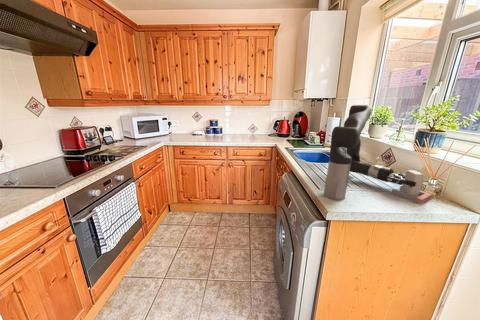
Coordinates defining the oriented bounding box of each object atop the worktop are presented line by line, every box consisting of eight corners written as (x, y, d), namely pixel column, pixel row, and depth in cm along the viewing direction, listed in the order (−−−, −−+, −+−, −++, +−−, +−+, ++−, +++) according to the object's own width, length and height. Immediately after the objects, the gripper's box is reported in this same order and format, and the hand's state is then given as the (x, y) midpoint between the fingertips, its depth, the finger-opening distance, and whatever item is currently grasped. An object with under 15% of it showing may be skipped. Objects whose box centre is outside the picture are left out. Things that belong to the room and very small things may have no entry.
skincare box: (399, 192, 101) (405, 169, 97) (409, 192, 100) (415, 170, 97) (408, 197, 95) (415, 174, 91) (418, 198, 94) (425, 174, 91)
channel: (390, 193, 99) (391, 190, 98) (401, 188, 105) (402, 185, 104) (420, 203, 89) (422, 199, 88) (431, 197, 95) (432, 194, 94)
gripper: (374, 168, 103) (414, 178, 89) (388, 164, 110) (426, 173, 96) (371, 181, 105) (410, 193, 91) (385, 177, 112) (422, 187, 98)
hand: (418, 183), depth 94 cm, fingers closed on skincare box, 6 cm apart
